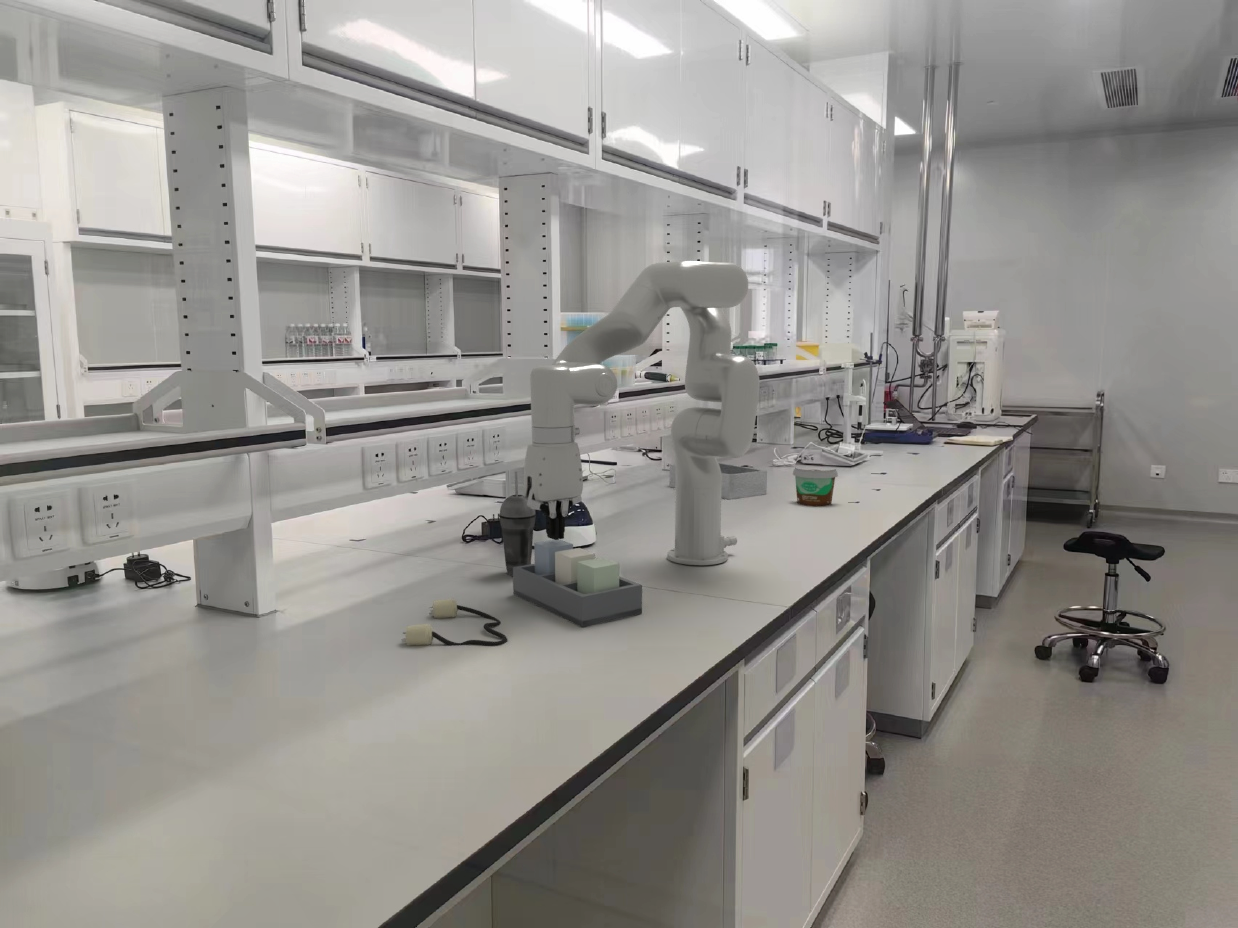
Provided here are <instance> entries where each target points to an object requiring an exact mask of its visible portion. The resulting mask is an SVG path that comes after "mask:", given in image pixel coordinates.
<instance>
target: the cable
mask: <svg viewBox="0 0 1238 928" xmlns="http://www.w3.org/2000/svg"><path fill="white" fill-rule="evenodd" d="M428 608H429V609H430V612H429V613H428V616H429V617H433V616H434V619H447V618H450V619H451V618H455V617H456V616H457V614H458V611H462V612H465V613H469V614H473V615H477V616H479V617H482V618H484V619H488V620H491V621H493V622H487V623H484V624H483V626H482V627H483V629H484V631H486V632H487V633H489V634H491V635H493V636H495V637H498V638H499V639H501V640H497V641H491V640H480V639H469V640H466V641H465V640H464V641H463V642H455V641H452V640H449V639H447V638H445V637H443V636H442V635H440V634H439V633H437V632H436V631H434V628H433V626H431V624H430V623H425V624H415V625H413V624H412V625H407V627H406V628H405V631H403V632H402V634H405V635H404V636H405V638H401V643H406V645H407V646H422V645H423V646H426V645H427V646H428V645H431V644H432V642H433V641H434V639H436V640H437V641H439V642H440V643H442V644H444V645H446V646H453V647H455V646H459V647H460V646H467V645H468V646H469V645H475V646H486V647H487V646H488V647H495V646H497V647H498V646H502V645H505V644H506V643H507V641H508V638H507V636H506V635H505V634H504V633H502V632H500V631H497V630H495V629H492V628H495V627H498V626H499V625H501V623H502V621H501V620H499V619H498V618H496V617H495V616H493V615H491V614H488V613H486V612H484V611H481V610H477V609H475V608H471V607H468V606H463V605H458V603H457V601H456V599H454V598H447V599H439V600H434V601H433V604H432V605H430V606H429V607H428Z"/></svg>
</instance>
